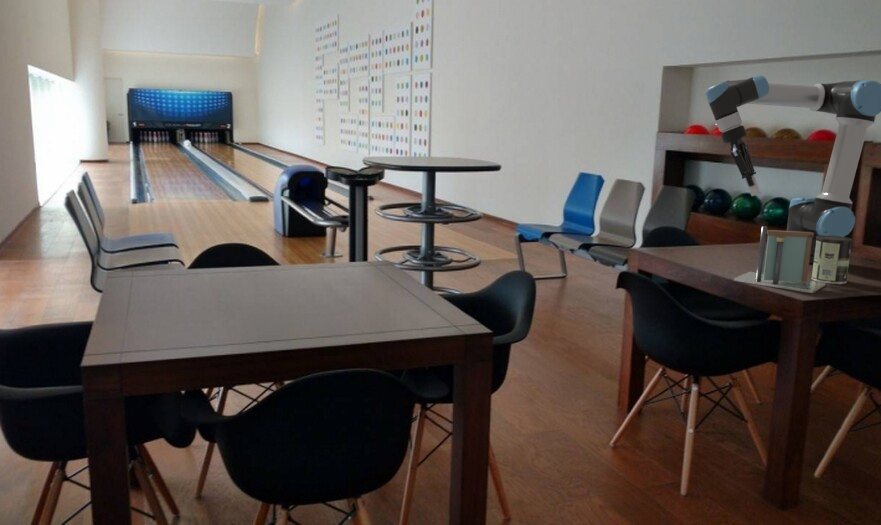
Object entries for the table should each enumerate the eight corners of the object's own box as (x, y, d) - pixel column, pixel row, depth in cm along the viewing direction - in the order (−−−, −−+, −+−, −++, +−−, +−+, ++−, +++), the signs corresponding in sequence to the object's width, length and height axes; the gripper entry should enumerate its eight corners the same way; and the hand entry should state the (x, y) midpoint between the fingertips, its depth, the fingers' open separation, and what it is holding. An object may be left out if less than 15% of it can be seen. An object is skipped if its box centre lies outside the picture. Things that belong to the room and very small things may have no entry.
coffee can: (840, 278, 243) (846, 236, 240) (851, 285, 233) (857, 241, 230) (807, 276, 245) (812, 234, 242) (816, 283, 235) (821, 239, 232)
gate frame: (812, 293, 220) (820, 233, 217) (733, 280, 235) (740, 224, 231) (824, 285, 231) (832, 228, 228) (749, 273, 246) (755, 220, 242)
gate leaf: (763, 280, 230) (769, 230, 227) (761, 278, 231) (767, 230, 228) (807, 282, 228) (813, 233, 225) (805, 281, 230) (811, 232, 227)
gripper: (725, 130, 254) (749, 194, 255) (715, 135, 244) (740, 201, 245) (747, 122, 250) (771, 187, 251) (737, 126, 240) (763, 194, 240)
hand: (756, 194), depth 248 cm, fingers closed
